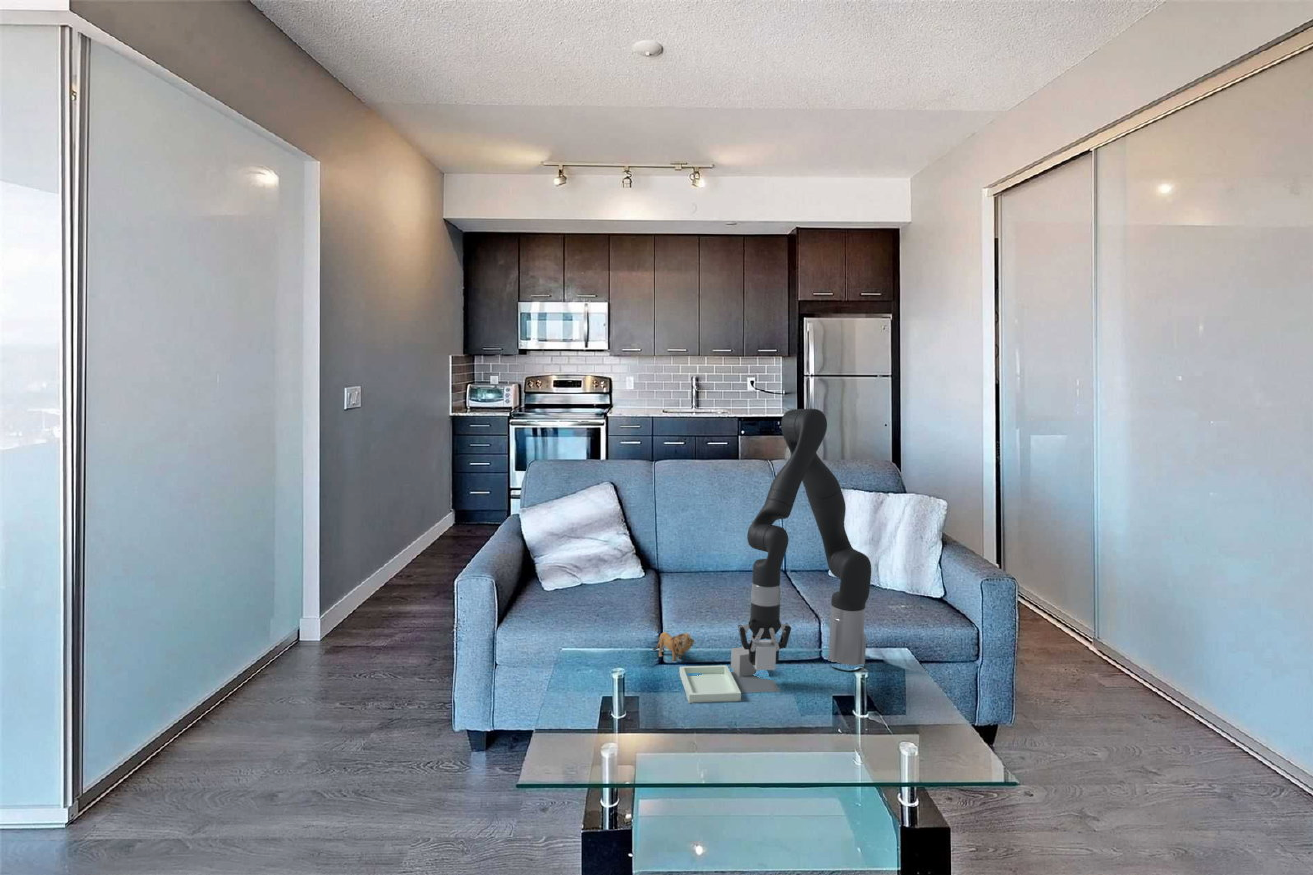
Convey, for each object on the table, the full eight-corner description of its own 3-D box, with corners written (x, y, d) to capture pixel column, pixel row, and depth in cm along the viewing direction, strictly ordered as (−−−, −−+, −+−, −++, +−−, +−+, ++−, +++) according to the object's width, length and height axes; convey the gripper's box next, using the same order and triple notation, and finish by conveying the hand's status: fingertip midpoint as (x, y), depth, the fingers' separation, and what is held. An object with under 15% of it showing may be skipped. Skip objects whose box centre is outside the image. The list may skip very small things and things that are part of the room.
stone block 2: (770, 662, 204) (770, 640, 203) (775, 669, 199) (776, 647, 198) (751, 662, 203) (752, 640, 203) (756, 670, 198) (757, 648, 198)
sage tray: (726, 673, 209) (727, 665, 209) (740, 702, 192) (741, 693, 192) (679, 675, 208) (679, 666, 207) (689, 704, 191) (689, 694, 191)
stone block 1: (746, 667, 213) (747, 646, 212) (755, 674, 208) (756, 653, 208) (730, 669, 211) (731, 648, 210) (739, 676, 207) (740, 655, 206)
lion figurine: (696, 664, 215) (697, 633, 214) (683, 669, 212) (684, 637, 211) (658, 649, 226) (659, 619, 224) (645, 653, 222) (646, 623, 221)
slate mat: (764, 667, 214) (765, 666, 214) (780, 693, 198) (780, 691, 198) (725, 668, 213) (726, 667, 213) (738, 694, 197) (738, 692, 197)
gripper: (788, 595, 204) (786, 656, 206) (735, 596, 202) (733, 658, 204) (796, 604, 196) (794, 668, 198) (741, 605, 194) (739, 670, 196)
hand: (763, 663), depth 201 cm, fingers closed on stone block 2, 5 cm apart
